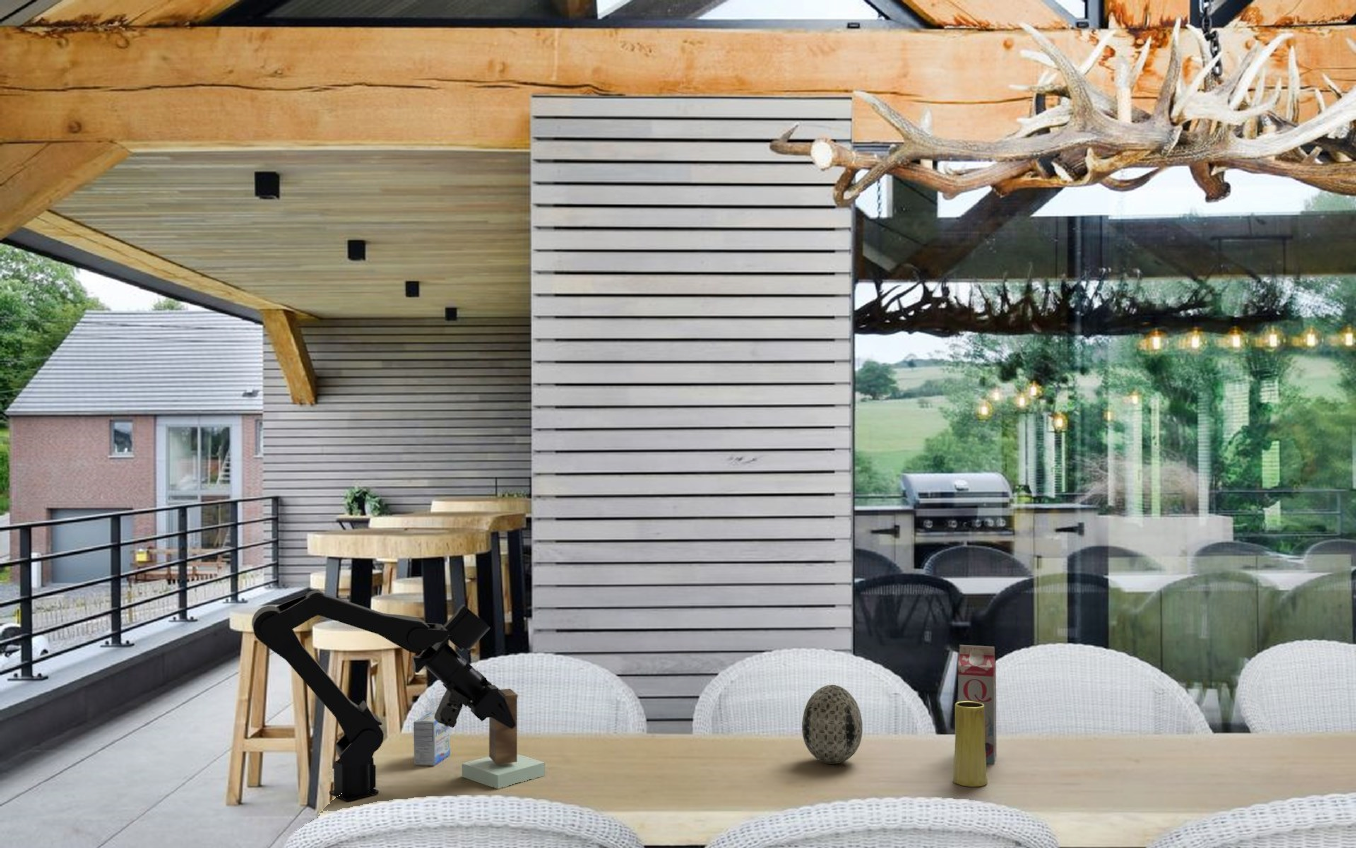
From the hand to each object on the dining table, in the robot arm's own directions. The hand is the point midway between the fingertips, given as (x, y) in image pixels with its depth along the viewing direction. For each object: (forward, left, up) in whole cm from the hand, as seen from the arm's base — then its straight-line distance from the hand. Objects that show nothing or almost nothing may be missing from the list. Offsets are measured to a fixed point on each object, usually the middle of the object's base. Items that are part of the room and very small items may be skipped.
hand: (510, 723), depth 221 cm
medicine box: (-4, +20, -10) cm, 22 cm away
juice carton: (+70, -58, -10) cm, 92 cm away
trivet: (-1, +1, -10) cm, 10 cm away
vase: (+55, -65, -10) cm, 86 cm away
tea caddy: (-1, +1, -7) cm, 7 cm away
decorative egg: (+48, -39, -10) cm, 63 cm away
